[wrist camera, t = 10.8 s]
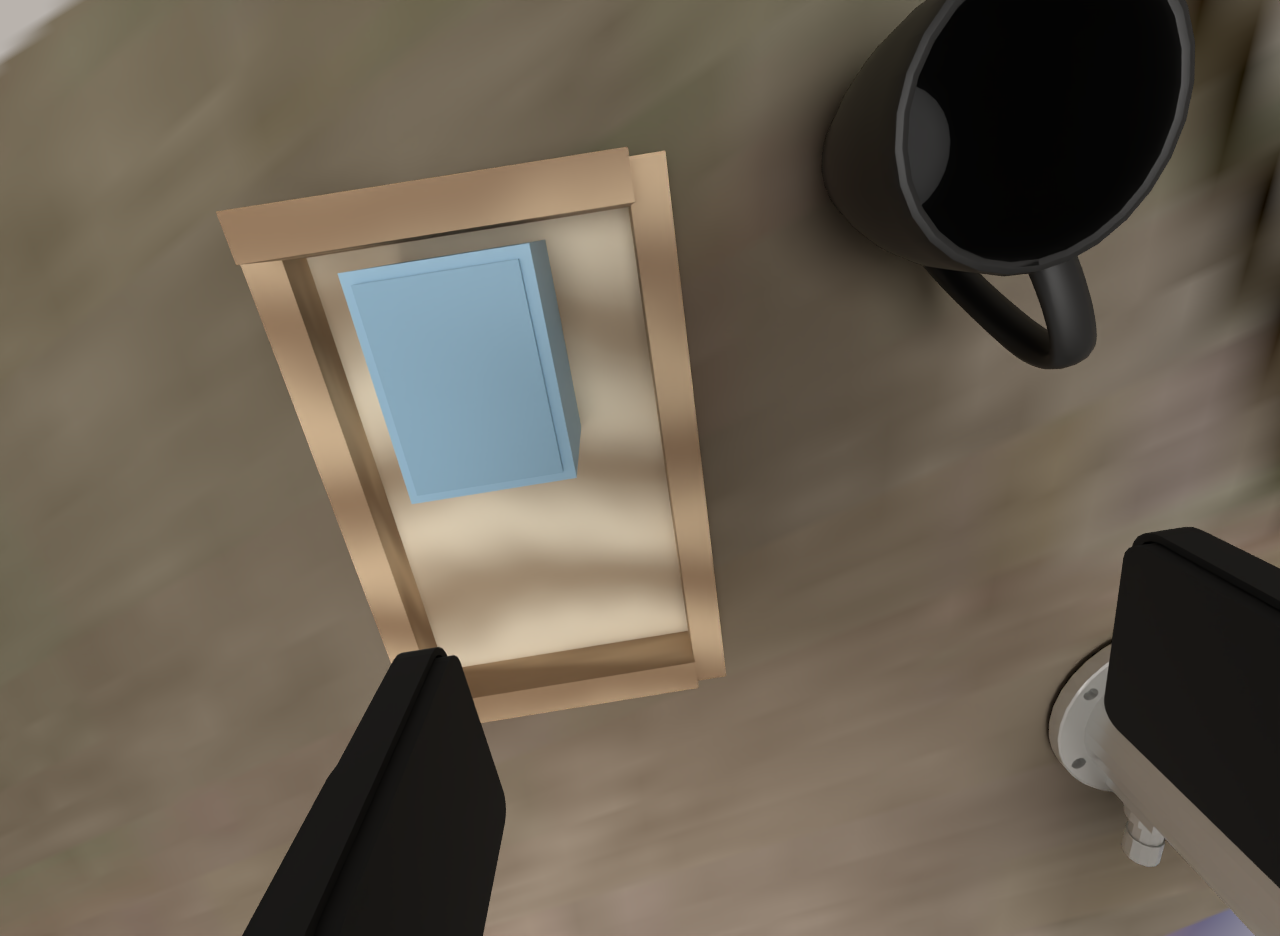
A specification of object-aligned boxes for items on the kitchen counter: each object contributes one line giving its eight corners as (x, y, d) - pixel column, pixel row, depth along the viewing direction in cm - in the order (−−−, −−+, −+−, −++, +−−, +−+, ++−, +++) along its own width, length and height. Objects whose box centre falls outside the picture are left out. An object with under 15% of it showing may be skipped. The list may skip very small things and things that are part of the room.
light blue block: (581, 426, 27) (576, 480, 21) (450, 447, 27) (409, 508, 21) (545, 239, 24) (528, 243, 18) (397, 263, 24) (333, 274, 18)
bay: (715, 638, 33) (739, 720, 28) (430, 684, 33) (396, 776, 28) (657, 159, 24) (675, 139, 19) (266, 221, 24) (167, 218, 19)
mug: (850, 368, 28) (964, 432, 19) (760, 98, 24) (855, 22, 15) (1020, 290, 27) (1221, 320, 18) (959, -5, 23) (1183, -149, 14)
